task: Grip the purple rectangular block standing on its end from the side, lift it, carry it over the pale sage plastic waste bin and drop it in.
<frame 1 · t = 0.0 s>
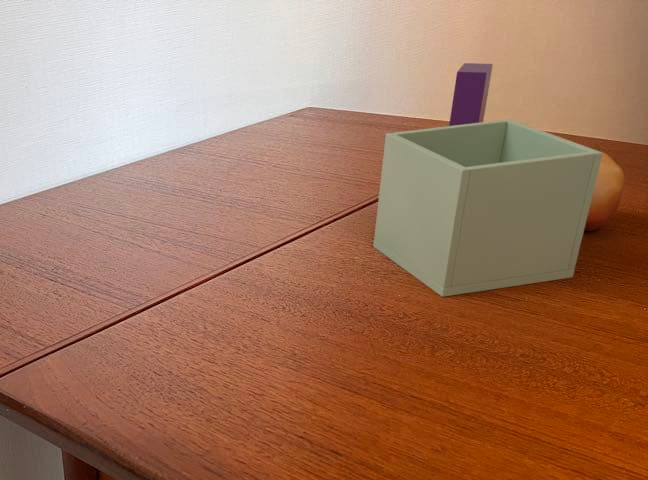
purple rectangular block: (458, 176, 100), on the table
fruit: (567, 226, 85), on the table
bin: (467, 261, 79), on the table
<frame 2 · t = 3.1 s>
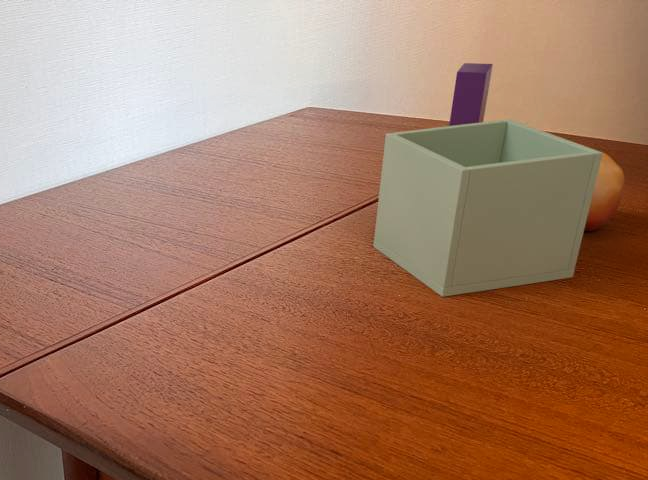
nothing on the table moved.
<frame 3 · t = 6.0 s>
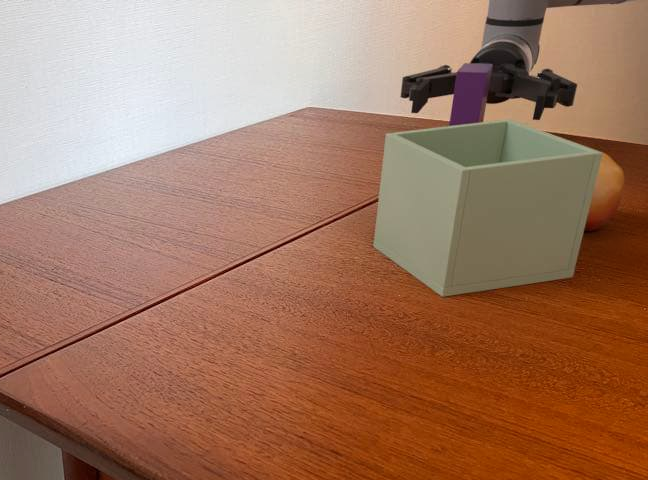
hand: (475, 104, 101), 7 cm above the table, tool horizontal, fingers open, 13 cm apart
nothing on the table moved.
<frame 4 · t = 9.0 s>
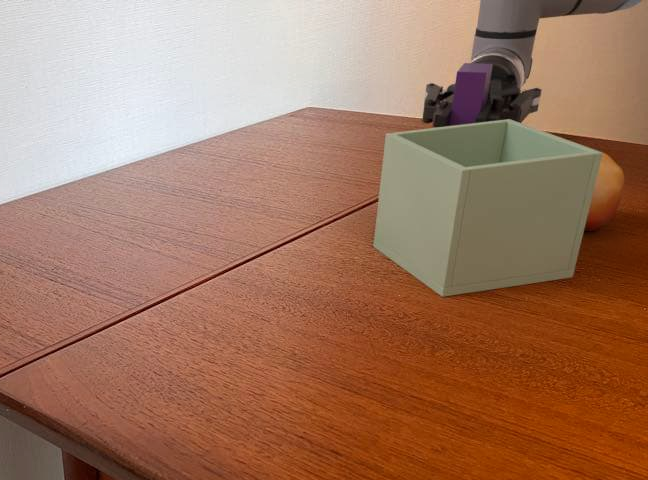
hand: (459, 130, 92), 7 cm above the table, tool horizontal, fingers closed on purple rectangular block, 3 cm apart
purple rectangular block: (458, 176, 100), on the table, touching gripper
everything else where it was.
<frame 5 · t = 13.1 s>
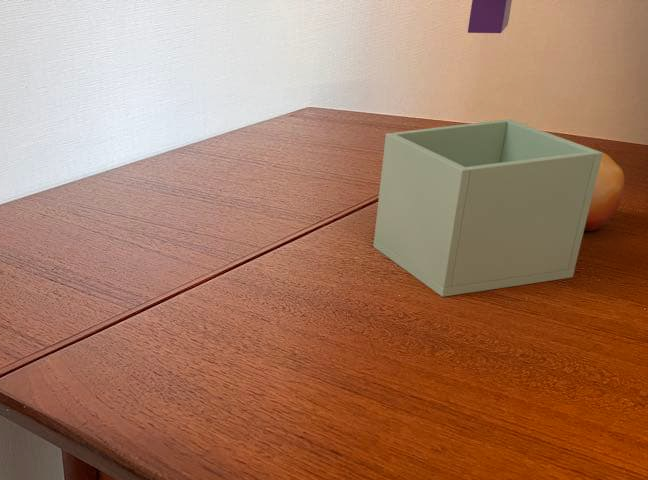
purple rectangular block: (487, 29, 83), point 17 cm above the table, touching gripper
everything else where it was.
when the fingers open (16 cm above the table, at t = 17.7 s): purple rectangular block drops 9 cm, resting on bin.
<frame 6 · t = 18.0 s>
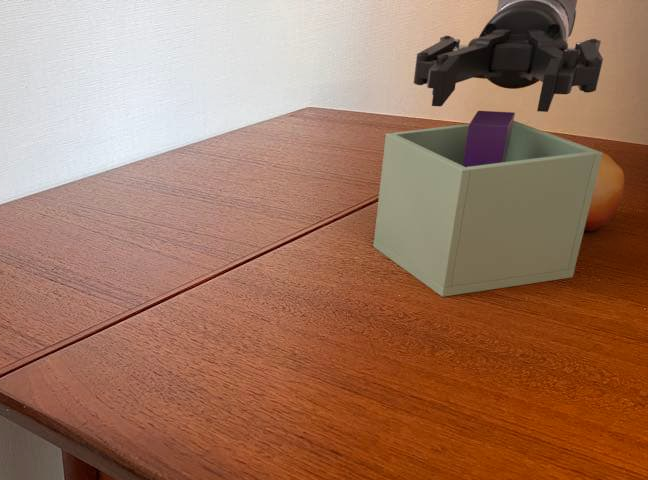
hand: (491, 90, 67), 16 cm above the table, tool horizontal, fingers open, 7 cm apart
purple rectangular block: (469, 253, 78), point 1 cm above the table, touching bin
everything else where it was.
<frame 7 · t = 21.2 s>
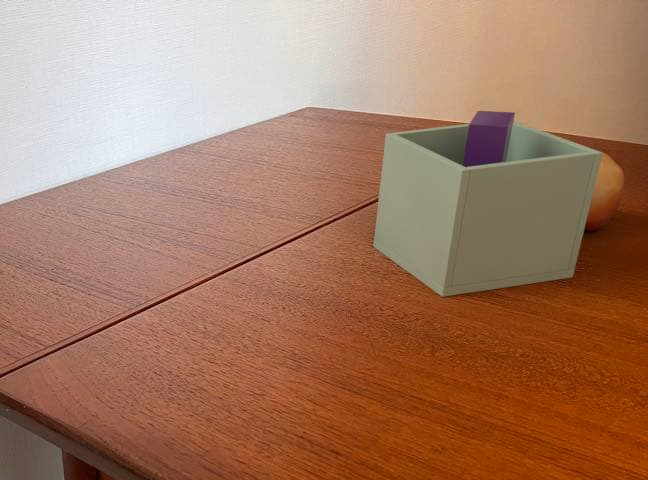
nothing on the table moved.
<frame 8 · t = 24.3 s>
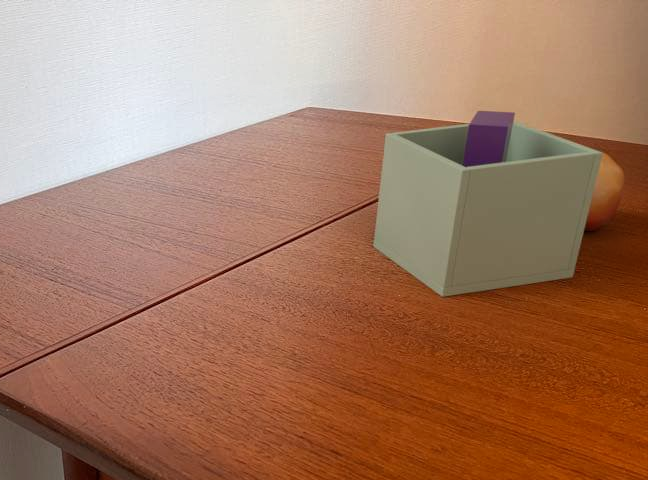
nothing on the table moved.
at the end: purple rectangular block inside the target area in the bin (0.0 cm from its centre), point 0.8 cm above the bin's base; the gripper is holding nothing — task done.
